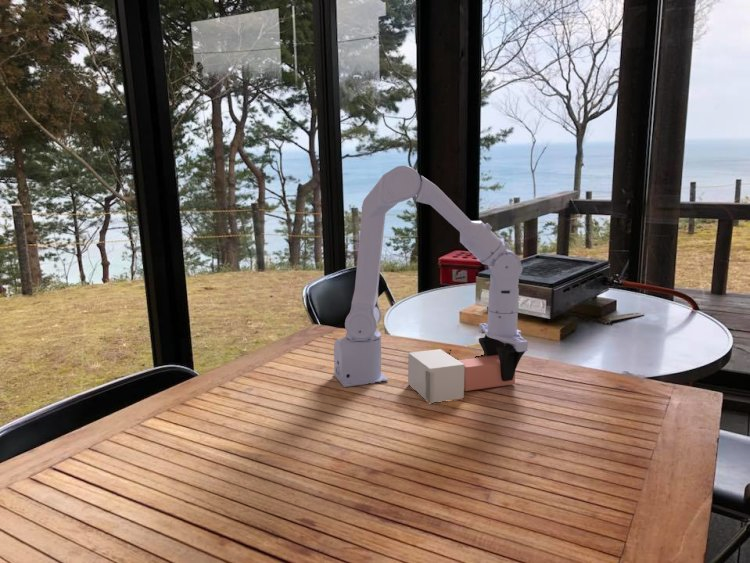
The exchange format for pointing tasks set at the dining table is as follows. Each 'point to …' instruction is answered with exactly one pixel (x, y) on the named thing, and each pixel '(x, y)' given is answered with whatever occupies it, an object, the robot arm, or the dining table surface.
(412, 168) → the robot arm
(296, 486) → the dining table surface
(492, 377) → the pink cuboid
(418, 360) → the off-white grooved box
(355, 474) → the dining table surface
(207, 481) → the dining table surface
